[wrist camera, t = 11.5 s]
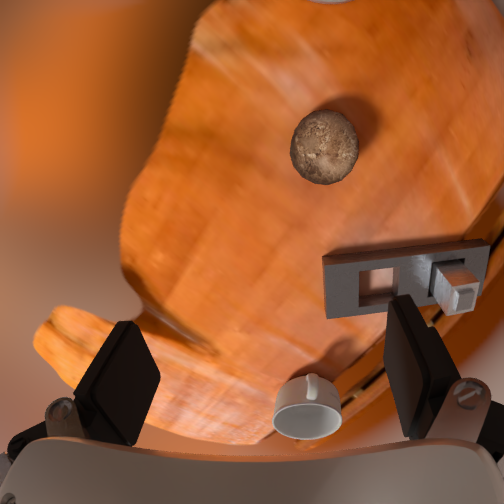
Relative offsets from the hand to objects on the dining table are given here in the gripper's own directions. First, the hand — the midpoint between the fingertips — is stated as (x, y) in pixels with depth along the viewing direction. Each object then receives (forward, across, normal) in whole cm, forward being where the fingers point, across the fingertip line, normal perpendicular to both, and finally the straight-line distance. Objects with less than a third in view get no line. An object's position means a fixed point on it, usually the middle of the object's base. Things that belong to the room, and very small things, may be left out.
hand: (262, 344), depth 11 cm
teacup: (+28, -1, +34) cm, 44 cm away
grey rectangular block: (+28, -21, +15) cm, 38 cm away
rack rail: (+28, -16, +15) cm, 36 cm away
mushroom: (+28, -6, -3) cm, 29 cm away
